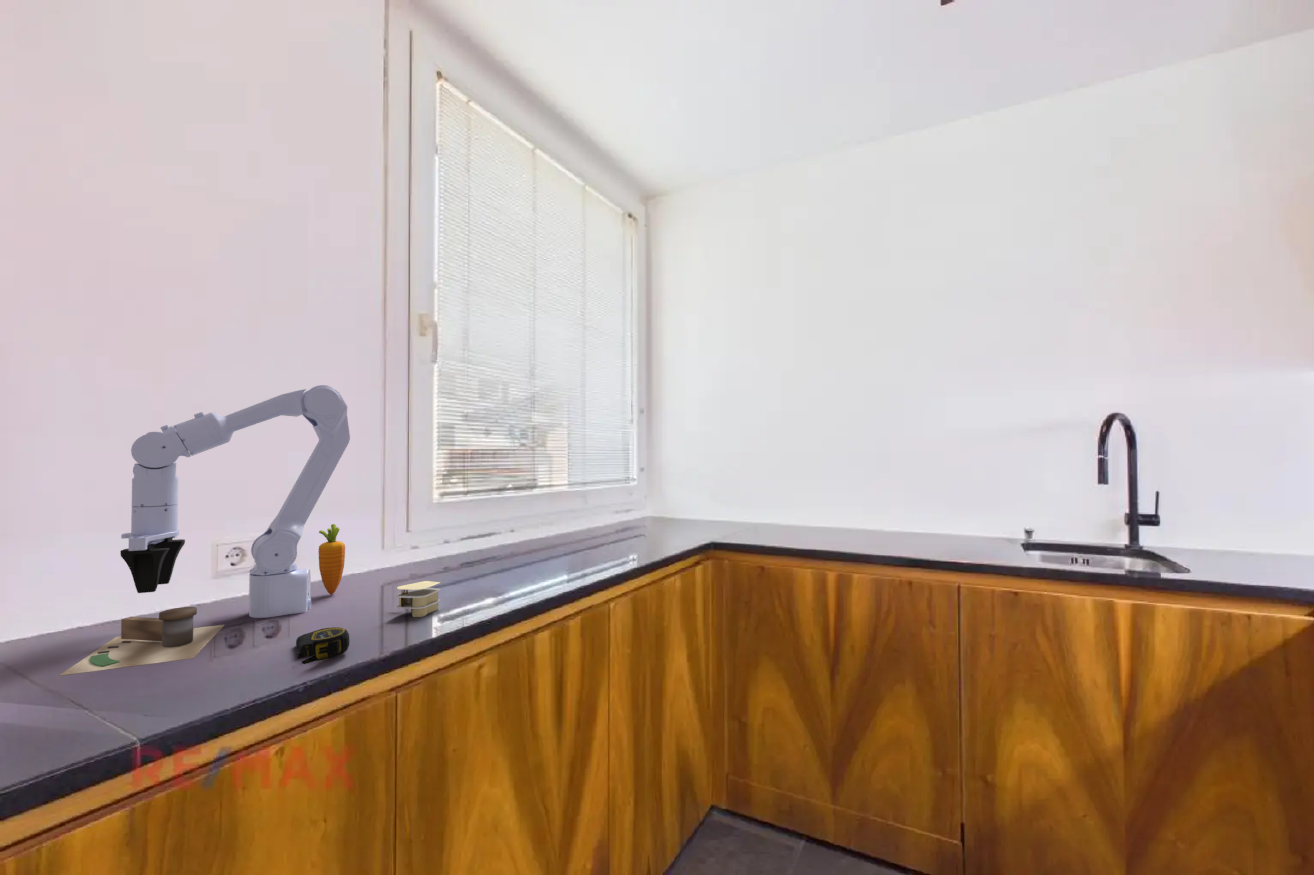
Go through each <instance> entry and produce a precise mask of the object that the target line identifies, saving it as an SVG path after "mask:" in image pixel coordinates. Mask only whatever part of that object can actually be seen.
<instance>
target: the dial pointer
mask: <svg viewBox="0 0 1314 875" xmlns="http://www.w3.org/2000/svg"><path fill="white" fill-rule="evenodd" d="M197 614H198V607H196V606H184V607H183V606H182V607H175V608H169V609H166V610H162V611H160V612H159V613H158V617H146V616H145V617H144V616H143V617H141V616H130V617H125V618H121V626H120V627H121V628H120V630H121V632H120V633H121V634H120V636H121V639H130V640H147V641H162V646H165V647H170V646H178V645H183V644H186V643H189V642H191V641H193V628H194V616H196V615H197Z"/></svg>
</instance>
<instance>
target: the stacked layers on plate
mask: <svg viewBox="0 0 1314 875" xmlns="http://www.w3.org/2000/svg"><path fill="white" fill-rule="evenodd" d="M438 584H441V582H439V581H431V580H424V581H418V582H413V583H409V584H408V583H407V584H404V585H403V584H402V585H399V586H397V587H396V588H397V590H401V592H399V593H397V594H396V598H397V599H398V604H396V608H397V609H401V610H403V609H404V610H406V609H407V610H410V614H412V615H411V617H414V618H422V617H425V616H427V615H428V614H430V613H433V612H435V611H438V610H439V602H441V601H442V599H439V592H441V588H435V587H433V586H436V585H438Z"/></svg>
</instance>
